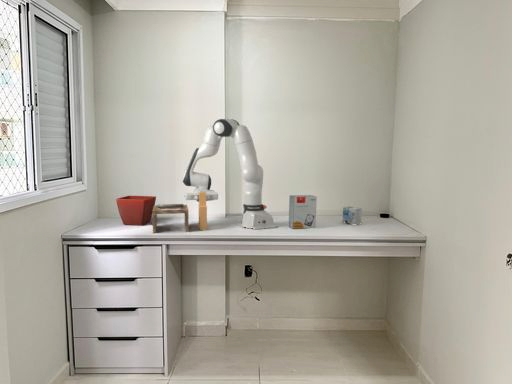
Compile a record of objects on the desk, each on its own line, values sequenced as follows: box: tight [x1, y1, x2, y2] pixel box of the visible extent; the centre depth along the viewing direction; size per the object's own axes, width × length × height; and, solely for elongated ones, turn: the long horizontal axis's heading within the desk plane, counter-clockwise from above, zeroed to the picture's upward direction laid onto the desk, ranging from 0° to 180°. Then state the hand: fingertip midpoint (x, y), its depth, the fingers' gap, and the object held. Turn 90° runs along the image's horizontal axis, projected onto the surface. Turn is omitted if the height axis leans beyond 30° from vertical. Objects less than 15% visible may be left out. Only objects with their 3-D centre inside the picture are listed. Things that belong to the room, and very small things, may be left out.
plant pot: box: [115, 195, 157, 226], centre depth 239 cm, size 19×19×17 cm
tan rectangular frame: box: [152, 203, 190, 234], centre depth 223 cm, size 20×20×15 cm
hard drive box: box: [288, 194, 318, 230], centre depth 232 cm, size 16×8×20 cm, turn 105°
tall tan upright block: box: [198, 192, 208, 231], centre depth 227 cm, size 4×12×22 cm, turn 13°
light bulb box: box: [341, 205, 363, 225], centre depth 246 cm, size 11×7×11 cm, turn 37°
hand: (202, 198), depth 225 cm, fingers closed on tall tan upright block, 4 cm apart
